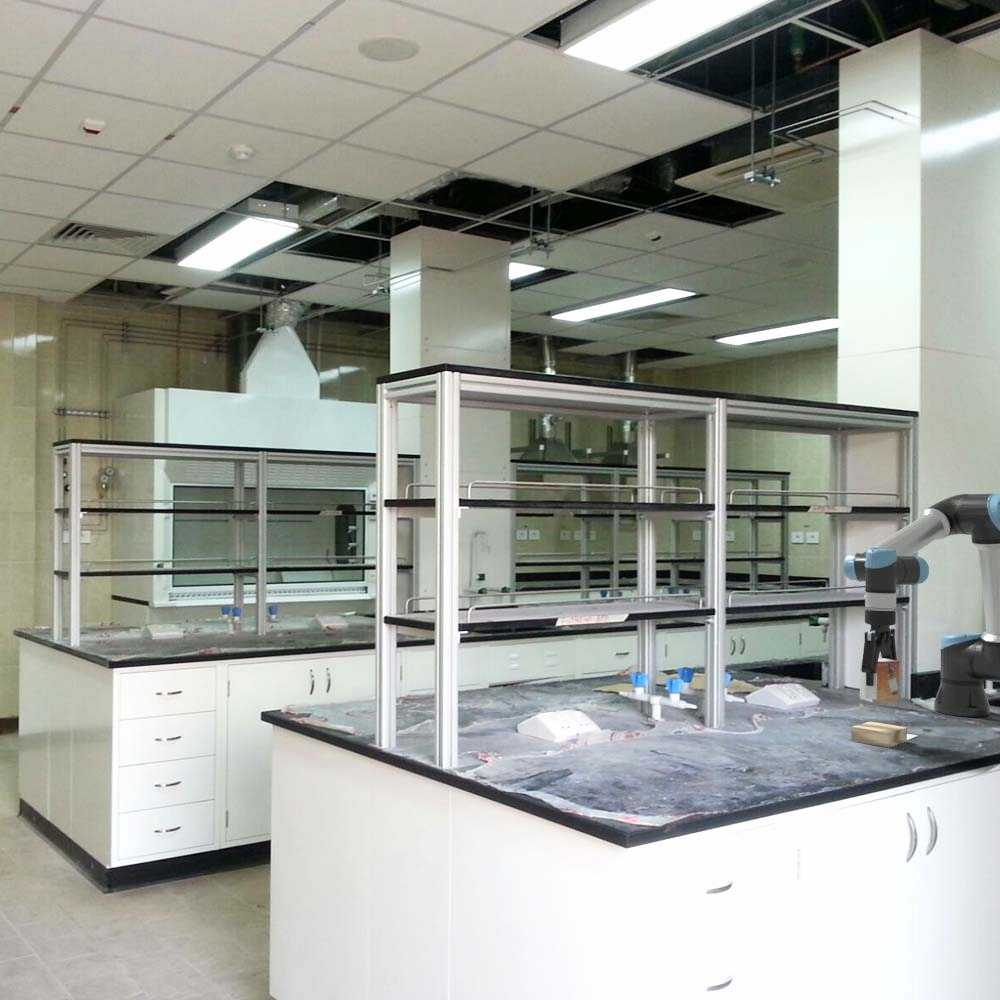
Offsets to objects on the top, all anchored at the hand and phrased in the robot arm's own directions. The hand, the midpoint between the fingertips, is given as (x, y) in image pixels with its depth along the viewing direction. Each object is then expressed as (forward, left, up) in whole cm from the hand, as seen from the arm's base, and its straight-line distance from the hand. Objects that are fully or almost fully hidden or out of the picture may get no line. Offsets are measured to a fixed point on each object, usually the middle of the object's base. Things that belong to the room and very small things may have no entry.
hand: (879, 696), depth 269 cm
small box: (0, 0, -1) cm, 1 cm away
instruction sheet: (-10, 0, -12) cm, 15 cm away
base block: (0, 0, -12) cm, 12 cm away
